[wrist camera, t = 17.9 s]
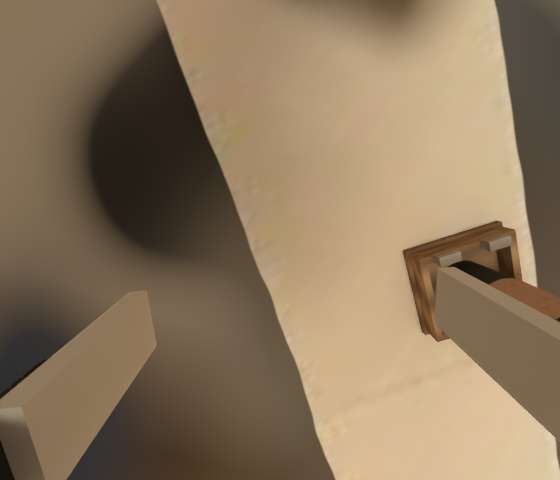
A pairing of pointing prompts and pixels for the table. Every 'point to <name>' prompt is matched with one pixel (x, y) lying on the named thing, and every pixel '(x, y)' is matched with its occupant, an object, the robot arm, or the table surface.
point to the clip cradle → (459, 247)
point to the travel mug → (513, 288)
